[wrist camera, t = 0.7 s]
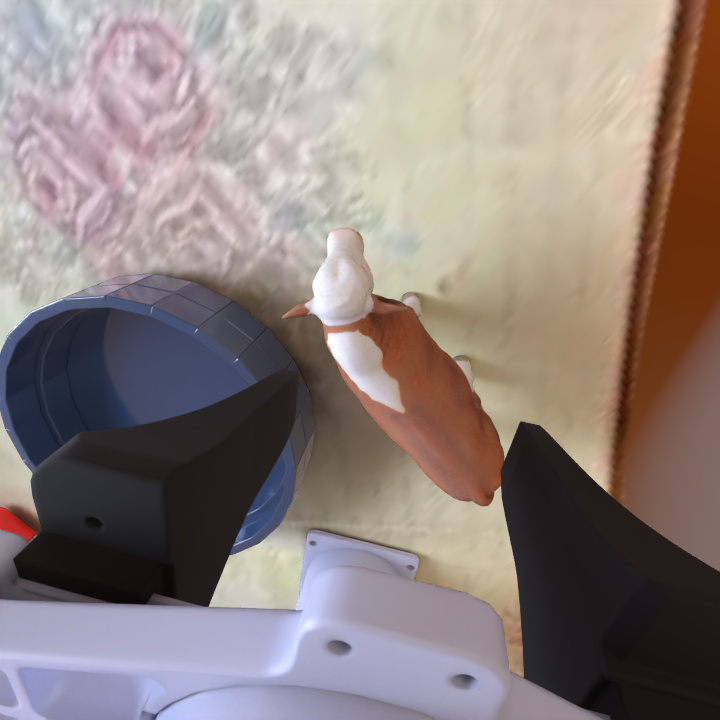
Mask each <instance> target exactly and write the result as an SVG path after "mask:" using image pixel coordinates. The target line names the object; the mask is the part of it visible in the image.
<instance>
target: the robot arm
mask: <svg viewBox="0 0 720 720" xmlns="http://www.w3.org/2000/svg"><path fill="white" fill-rule="evenodd" d="M299 376H300V373H299V372H295V371H290V370H286V369H280V370H278V371H277V372H275V373H273V374H271V375H269V376H268V377H266V378H264V379H262V380H261V381H259V382H257V383H255V384H253V385H251V386H250V387H248V388H246V389H244V390H242V391H240V392H238V393H236V394H234V395H232V396H229V397H227V398H225V399H223V400H221V401H219V402H216V403H214V404H212V405H209V406H207V407H204V408H201V409H198V410H195V411H192V412H189V413H186V414H183V415H179V416H175V417H172V418H168V419H164V420H161V421H156V422H151V423H147V424H142V425H136V426H130V427H124V428H117V429H108V430H98V431H89V432H80V433H79V434H77V435H76V436H75V437H73V438H72V439H71V440H69V441H68V442H67V443H66V444H64V445H63V446H62V447H61V448H59V449H58V450H57V451H56V452H54V453H53V454H52V455H50V456H49V457H48V458H47V459H45V460H44V461H43V462H42V463H40V464H39V465H38V467H37V468H36V469H35V470H34V471H33V474H32V478H31V488H32V496H33V499H34V503H35V507H36V510H37V514H38V518H39V521H40V525H41V529H42V532H41V533H40V534H39V535H38V536H37V537H36V538H35V539H34V540H33V541H32V542H30V543H29V542H28V541H27V540H26V539H25V538H23V537H22V536H20V535H18V534H16V533H12V532H9V531H5V530H1V529H0V720H720V572H719V571H717V570H715V569H714V568H712V567H710V566H709V565H707V564H705V563H704V562H702V561H701V560H699V559H697V558H696V557H694V556H692V555H691V554H689V553H687V552H686V551H684V550H683V549H681V548H680V547H678V546H677V545H675V544H674V543H672V542H670V541H669V540H668V539H666V538H665V537H663V536H662V535H661V534H659V533H657V532H656V531H655V530H653V529H652V528H651V527H649V526H648V525H646V524H645V523H644V522H642V521H641V520H640V519H638V518H637V517H636V516H635V515H633V514H632V513H631V512H630V511H628V510H627V509H626V508H625V507H623V506H622V505H621V504H620V503H619V502H617V501H616V500H615V499H614V498H613V497H612V496H610V495H609V494H608V493H607V492H606V491H605V490H604V489H603V488H602V487H601V486H599V485H598V484H597V483H596V482H595V481H594V480H593V479H592V478H591V477H590V476H589V475H588V474H587V473H586V472H585V471H584V470H583V469H582V468H581V467H580V466H579V465H578V464H577V463H576V462H575V461H574V460H573V459H572V458H571V457H570V456H569V455H568V454H567V453H566V452H565V450H564V449H563V448H562V447H561V446H560V445H559V444H558V443H557V442H556V441H555V440H554V439H553V438H552V437H551V436H550V435H549V434H548V433H547V432H546V431H545V430H544V429H543V428H542V427H541V426H540V425H535V424H531V423H526V422H522V421H520V424H519V426H518V429H517V431H516V434H515V436H514V439H513V441H512V444H511V446H510V448H509V451H508V453H507V456H506V458H505V461H504V463H503V466H502V468H501V491H502V501H503V507H504V512H505V517H506V522H507V527H508V532H509V536H510V541H511V546H512V551H513V556H514V561H515V566H516V572H517V579H518V590H519V601H520V613H521V628H522V642H523V665H524V678H523V677H521V676H519V675H517V674H515V673H513V672H511V671H510V670H509V665H508V658H507V650H506V643H505V635H504V628H503V621H502V619H501V618H500V616H499V615H498V614H497V613H496V612H495V610H494V609H493V608H492V607H491V605H490V604H488V603H486V602H484V601H482V600H480V599H478V598H476V597H473V596H471V595H469V594H467V593H464V592H460V591H456V590H452V589H448V588H444V587H440V586H436V585H432V584H428V583H424V582H420V581H417V580H414V578H415V575H416V572H417V569H418V566H419V557H418V556H417V555H415V554H412V553H408V552H404V551H400V550H396V549H392V548H388V547H384V546H380V545H376V544H372V543H368V542H364V541H360V540H356V539H352V538H348V537H344V536H340V535H336V534H332V533H328V532H324V531H320V530H315V529H312V530H310V531H309V532H308V535H307V540H306V547H305V555H304V562H303V569H302V576H301V583H300V590H299V598H298V602H297V606H296V609H295V610H288V609H258V608H229V607H209V604H210V601H211V599H212V596H213V594H214V591H215V589H216V586H217V584H218V582H219V579H220V577H221V574H222V572H223V569H224V567H225V564H226V562H227V560H228V557H229V555H230V553H231V550H232V548H233V545H234V543H235V541H236V538H237V536H238V534H239V532H240V529H241V527H242V525H243V523H244V520H245V518H246V516H247V514H248V511H249V509H250V508H251V506H252V504H253V502H254V500H255V498H256V496H257V495H258V493H259V491H260V490H261V488H262V486H263V484H264V483H265V481H266V479H267V478H268V476H269V474H270V472H271V471H272V469H273V467H274V466H275V464H276V462H277V460H278V459H279V457H280V455H281V453H282V452H283V450H284V448H285V446H286V443H287V441H288V439H289V436H290V434H291V431H292V429H293V426H294V424H295V415H296V405H297V395H298V386H299Z"/></svg>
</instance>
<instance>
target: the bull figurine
mask: <svg viewBox="0 0 720 720" xmlns="http://www.w3.org/2000/svg"><path fill="white" fill-rule="evenodd" d="M327 250H328V257H327V258H326V260H325V261H324V263H323V265H322V266H321V268H320V269H319V270H318V272H317V275H316V277H315V279H314V281H313V284H312V288H313V292H314V298H313V299H311V300H308V301H305V302H302V303H300V304H298V305H296V306H295V307H294V308H293V309H291V310H290V311H289V312H288V313H286V314H284V315H283V316H282V318H283V319H288V318H292V317H304V316H307V315H310V314H313V315H316V316H317V317H318V318H320V319H321V320H322V322H323V331H324V337H325V342H326V345H327V347H328V349H329V351H330V352H331V354H332V356H333V357H334V358H335V360H336V363H337V365H338V369H339V371H340V374H341V376H342V378H343V380H344V381H345V383H346V384H347V386H348V387H349V388H350V389H351V390H352V391H353V393H354V394H355V395H356V396H357V397H358V398H359V400H360V402H361V403H362V405H363V406H364V408H365V409H366V410H367V412H368V413H369V414H370V415H371V416H372V418H373V419H374V420H375V421H376V422H377V423H378V424H379V426H380V427H381V428H382V429H383V430H384V431H385V433H386V434H387V435H388V436H389V437H390V438H391V439H392V440H393V441H395V442H396V443H397V444H398V445H399V446H400V447H401V448H402V449H403V450H404V451H405V452H406V453H408V454H409V455H410V456H411V457H412V458H413V459H414V461H415V462H416V463H417V464H418V466H419V467H420V468H421V469H422V470H423V472H424V473H425V474H426V475H427V476H428V477H429V478H430V479H431V480H432V481H433V482H434V483H435V484H436V485H437V486H438V487H439V488H441V489H442V490H443V491H444V492H446V493H447V494H448V495H450V496H452V497H453V498H455V499H458V500H460V501H473V502H475V503H476V504H478V505H480V506H488V505H489V504H490V503H491V502H492V500H493V497H494V491H496V490H497V489H498V488H499V487H500V486H501V468H502V466H503V463H504V452H503V448H502V446H501V444H500V439H499V435H498V432H497V430H496V428H495V426H494V424H493V422H492V420H491V418H490V417H489V416H488V415H487V413H486V412H485V411H484V409H483V407H482V405H481V400H480V398H479V396H478V395H477V394H476V392H475V390H474V388H473V382H474V379H475V376H474V375H473V374H472V373H471V365H470V360H469V359H468V358H466V357H465V356H457V357H455V358H453V359H452V358H451V357H450V356H449V355H448V354H447V353H446V352H444V351H443V350H441V349H440V348H439V346H438V345H437V343H436V342H435V341H434V340H433V339H432V338H431V336H430V335H429V334H428V333H427V331H426V330H425V328H424V327H423V325H422V324H421V322H420V321H419V319H418V317H420V316H421V315H422V311H421V309H420V298H419V296H418V295H417V294H416V293H413V292H408V293H406V294H404V295H403V297H402V302H400V301H397V300H394V299H387V298H384V297H382V296H378V295H374V294H372V291H373V288H374V282H373V275H372V272H371V270H370V268H369V265H368V264H367V262H366V260H365V259H364V256H363V252H364V243H363V239H362V236H361V235H360V233H359V232H356V231H355V230H354V229H350V228H340V229H335V230H333V231H331V232H330V234H329V236H328V238H327Z"/></svg>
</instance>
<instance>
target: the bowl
mask: <svg viewBox="0 0 720 720" xmlns="http://www.w3.org/2000/svg"><path fill="white" fill-rule="evenodd" d="M280 369H286V370H290V371H295V372H299V370H298V368H297V366H296V363H295V361H294V360H293V358H292V357H291V356H290V355H289V353H288V352H287V351H286V350H285V348H284V347H283V346H282V345H281V344H280V342H279V341H278V340H277V339H276V337H275V336H274V335H273V334H272V332H271V331H270V330H269V329H268V328H267V327H266V326H265V325H264V324H262V323H261V322H260V321H259V320H257V319H256V318H255V317H253V316H252V315H251V314H250V313H248V312H247V311H246V310H245V309H243V308H242V307H241V306H239V305H238V304H237V303H236V302H234V301H233V300H231V299H229V298H227V297H225V296H223V295H221V294H218V293H216V292H214V291H212V290H210V289H208V288H206V287H204V286H202V285H200V284H197V283H194V282H191V281H186V280H181V279H176V278H172V277H167V276H162V275H157V274H143V275H129V276H118V277H115V278H112V279H110V280H107V281H105V282H102V283H99V284H97V285H94V286H92V287H89V288H87V289H84V290H82V291H79V292H77V293H74V294H72V295H69V296H67V297H64V298H62V299H59V300H57V301H55V302H52V303H50V304H47V305H45V306H43V307H40V308H38V309H35V310H33V311H31V312H30V313H29V314H28V315H27V316H26V317H25V318H24V319H23V320H22V321H21V322H20V323H19V324H18V325H17V326H16V327H15V328H14V329H13V330H12V331H11V332H10V333H9V334H8V335H7V337H6V340H5V342H4V345H3V348H2V350H1V353H0V412H1V415H2V419H3V422H4V426H5V429H6V431H7V433H8V435H9V437H10V438H11V440H12V442H13V444H14V446H15V447H16V449H17V451H18V453H19V455H20V457H21V458H22V460H23V462H24V463H25V464H26V465H27V467H28V468H29V469H30V470H31V471H32V473H33V471H34V470H35V469H36V468H37V467H38V465H39V464H40V463H42V462H43V461H44V460H45V459H47V458H48V457H49V456H50V455H52V454H53V453H54V452H56V451H57V450H58V449H59V448H61V447H62V446H63V445H64V444H66V443H67V442H68V441H69V440H71V439H72V438H73V437H75V436H76V435H77V434H79V433H80V432H89V431H98V430H108V429H117V428H124V427H130V426H136V425H142V424H147V423H151V422H156V421H161V420H164V419H168V418H172V417H175V416H179V415H183V414H186V413H189V412H192V411H195V410H198V409H201V408H204V407H207V406H209V405H212V404H214V403H216V402H219V401H221V400H223V399H225V398H227V397H229V396H232V395H234V394H236V393H238V392H240V391H242V390H244V389H246V388H248V387H250V386H251V385H253V384H255V383H257V382H259V381H261V380H262V379H264V378H266V377H268V376H269V375H271V374H273V373H275V372H277V371H278V370H280ZM299 373H300V372H299ZM314 433H315V421H314V415H313V410H312V404H311V399H310V394H309V391H308V389H307V386H306V384H305V382H304V380H303V378H302V376H301V374H300V376H299V386H298V395H297V405H296V415H295V424H294V426H293V429H292V431H291V434H290V436H289V439H288V441H287V443H286V446H285V448H284V450H283V452H282V453H281V455H280V457H279V459H278V460H277V462H276V464H275V466H274V467H273V469H272V471H271V472H270V474H269V476H268V478H267V479H266V481H265V483H264V484H263V486H262V488H261V490H260V491H259V493H258V495H257V496H256V498H255V500H254V502H253V504H252V506H251V508H250V509H249V511H248V514H247V516H246V518H245V520H244V523H243V525H242V527H241V529H240V532H239V534H238V536H237V538H236V541H235V543H234V545H233V548H232V550H231V553H230V555H233V554H236V553H238V552H241V551H243V550H245V549H247V548H250V547H252V546H254V545H257V544H259V543H260V542H261V541H263V540H264V539H265V538H266V537H267V536H268V535H269V534H270V533H271V532H273V531H274V530H275V529H276V528H277V527H278V526H279V525H280V524H281V522H282V520H283V518H284V517H285V515H286V513H287V511H288V509H289V507H290V505H291V503H292V501H293V499H294V496H295V494H296V492H297V489H298V487H299V484H300V482H301V479H302V477H303V475H304V472H305V470H306V467H307V465H308V463H309V460H310V458H311V455H312V448H313V441H314Z"/></svg>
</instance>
